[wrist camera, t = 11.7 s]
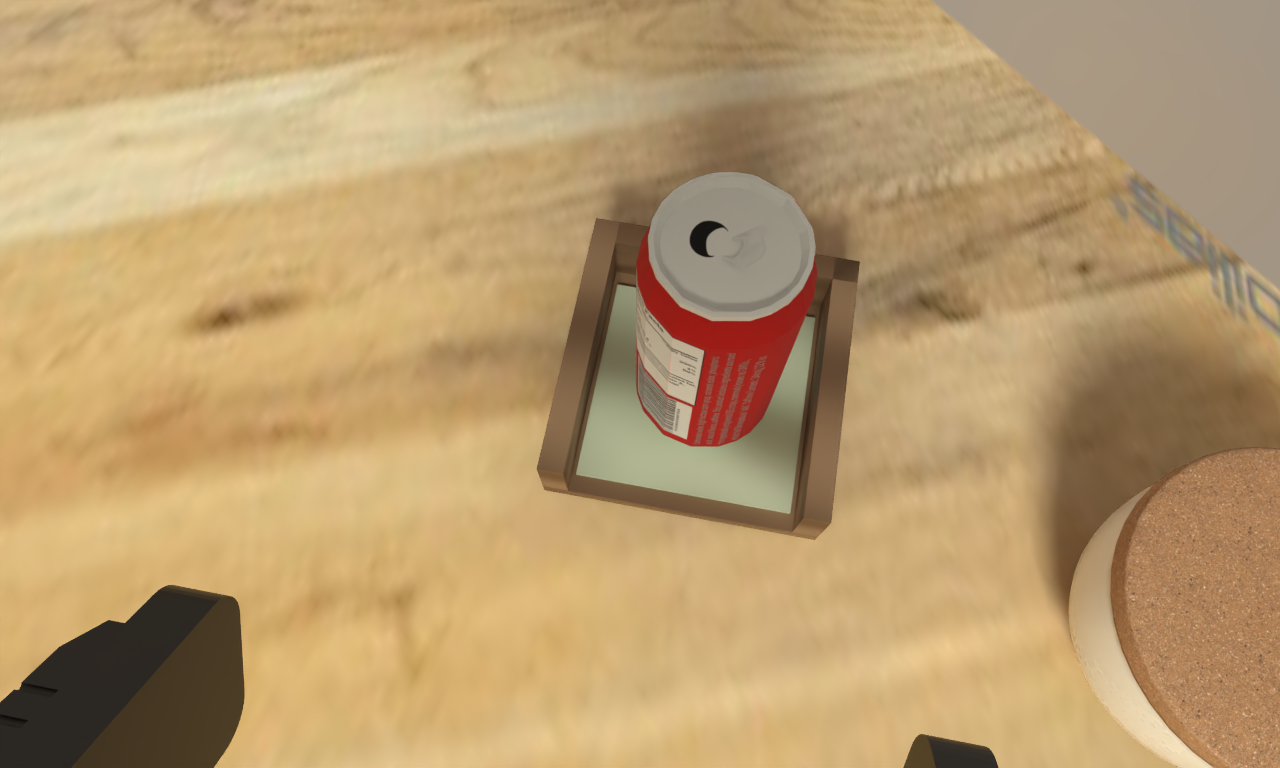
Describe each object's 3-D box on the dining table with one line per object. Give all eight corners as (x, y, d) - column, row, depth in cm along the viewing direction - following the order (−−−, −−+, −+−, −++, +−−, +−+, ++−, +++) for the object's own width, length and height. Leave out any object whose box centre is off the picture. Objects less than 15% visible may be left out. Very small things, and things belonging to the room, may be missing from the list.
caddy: (814, 539, 35) (831, 522, 32) (544, 489, 36) (536, 469, 33) (843, 296, 39) (859, 261, 36) (599, 255, 40) (596, 218, 37)
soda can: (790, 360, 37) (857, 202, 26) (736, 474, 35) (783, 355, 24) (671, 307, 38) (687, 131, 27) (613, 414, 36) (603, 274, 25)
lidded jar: (1179, 860, 31) (1391, 911, 22) (964, 611, 34) (1076, 571, 26) (1366, 668, 34) (1623, 646, 25) (1149, 451, 37) (1310, 364, 28)
